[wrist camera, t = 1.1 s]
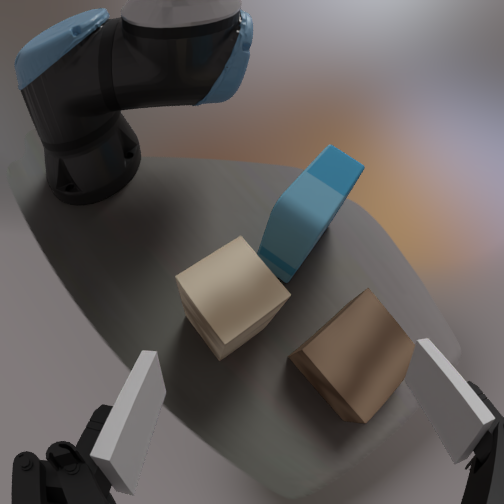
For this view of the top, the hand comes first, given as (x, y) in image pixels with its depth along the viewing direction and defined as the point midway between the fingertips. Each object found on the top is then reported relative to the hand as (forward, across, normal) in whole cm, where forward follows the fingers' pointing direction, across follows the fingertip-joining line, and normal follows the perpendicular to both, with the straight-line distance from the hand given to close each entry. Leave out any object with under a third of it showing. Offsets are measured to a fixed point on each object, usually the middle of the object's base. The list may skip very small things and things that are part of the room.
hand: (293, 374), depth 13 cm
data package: (+24, +4, 0) cm, 25 cm away
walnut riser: (+14, +9, -11) cm, 20 cm away
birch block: (+16, -5, -6) cm, 18 cm away
